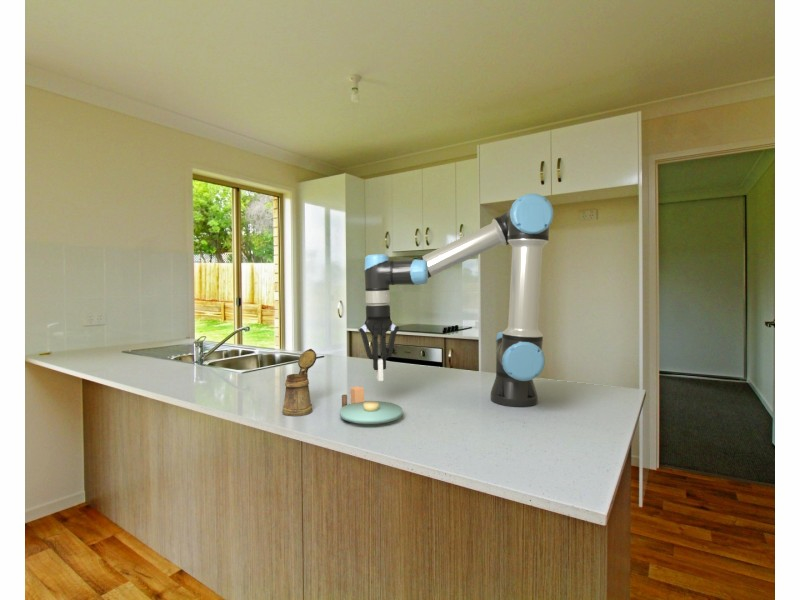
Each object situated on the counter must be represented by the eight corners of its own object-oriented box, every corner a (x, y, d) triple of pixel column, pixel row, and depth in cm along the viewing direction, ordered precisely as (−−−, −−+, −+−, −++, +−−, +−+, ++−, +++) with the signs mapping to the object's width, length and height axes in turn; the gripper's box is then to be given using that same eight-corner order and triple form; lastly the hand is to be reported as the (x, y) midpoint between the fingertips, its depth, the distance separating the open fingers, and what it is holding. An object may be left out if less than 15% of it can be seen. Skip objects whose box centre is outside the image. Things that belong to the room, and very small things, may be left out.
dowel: (347, 410, 132) (347, 394, 132) (346, 412, 131) (346, 396, 131) (342, 410, 133) (342, 394, 133) (341, 412, 131) (341, 395, 131)
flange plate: (381, 399, 140) (381, 383, 140) (413, 417, 122) (413, 399, 122) (327, 407, 132) (327, 390, 132) (353, 427, 113) (353, 408, 113)
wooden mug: (324, 405, 139) (324, 349, 138) (303, 417, 126) (302, 356, 125) (299, 402, 142) (299, 347, 141) (276, 414, 129) (275, 354, 128)
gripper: (394, 303, 140) (396, 375, 141) (354, 304, 136) (357, 379, 137) (401, 304, 133) (403, 380, 134) (359, 305, 129) (361, 384, 130)
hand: (380, 380), depth 136 cm, fingers closed
